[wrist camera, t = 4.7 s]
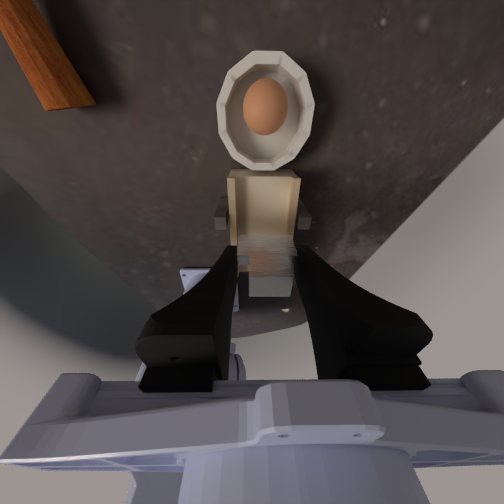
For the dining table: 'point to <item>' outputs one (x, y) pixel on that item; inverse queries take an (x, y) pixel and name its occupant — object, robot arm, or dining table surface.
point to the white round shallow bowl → (294, 127)
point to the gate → (268, 263)
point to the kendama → (42, 57)
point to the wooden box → (261, 205)
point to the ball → (265, 106)
